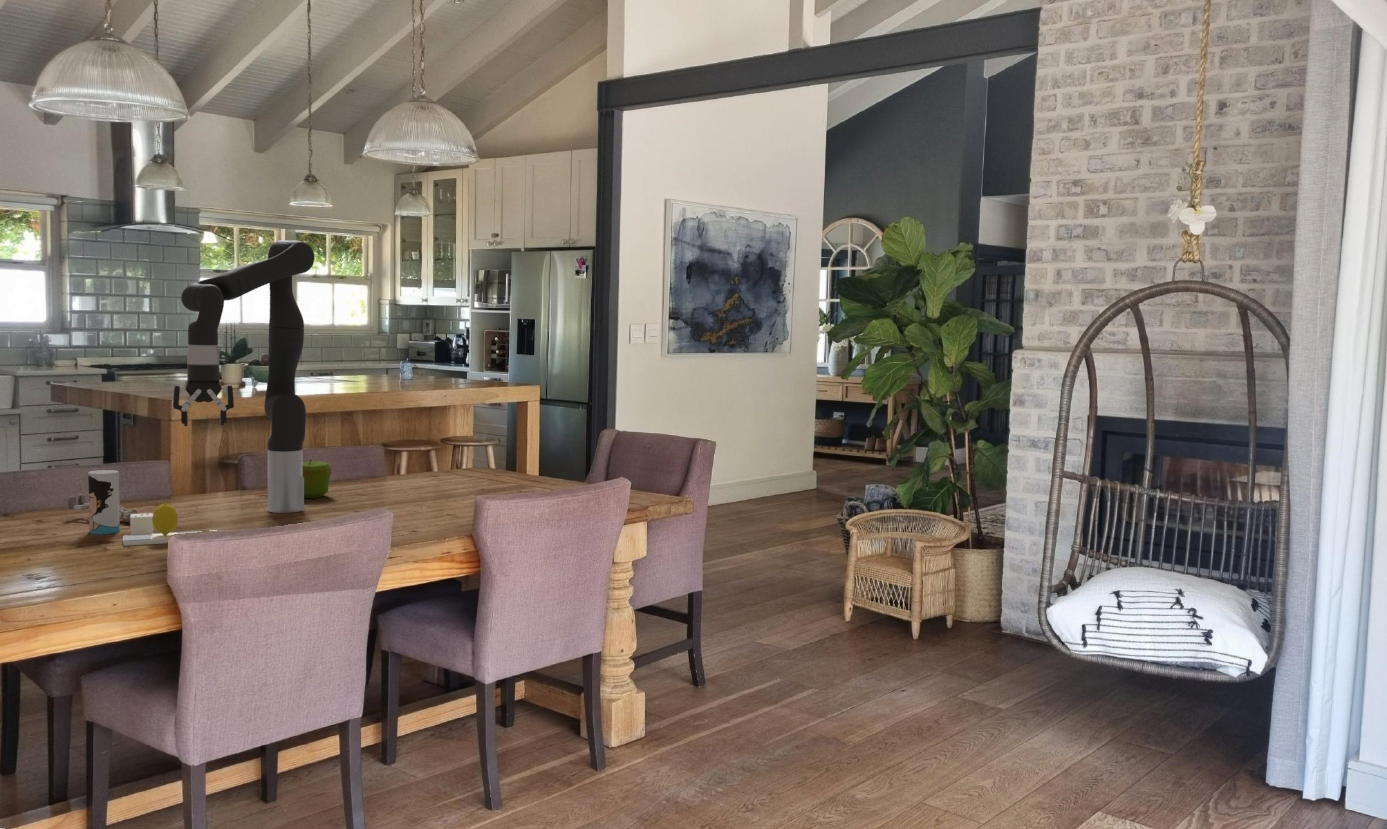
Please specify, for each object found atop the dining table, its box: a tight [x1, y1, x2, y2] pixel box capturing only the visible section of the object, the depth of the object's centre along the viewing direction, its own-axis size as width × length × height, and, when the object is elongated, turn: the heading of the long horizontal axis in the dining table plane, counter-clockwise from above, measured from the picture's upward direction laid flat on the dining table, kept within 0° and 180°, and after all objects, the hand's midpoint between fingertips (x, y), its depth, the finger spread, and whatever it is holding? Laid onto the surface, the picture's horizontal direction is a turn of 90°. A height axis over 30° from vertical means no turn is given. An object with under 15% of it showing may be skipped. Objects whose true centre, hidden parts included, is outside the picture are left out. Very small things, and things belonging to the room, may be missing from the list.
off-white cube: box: [129, 512, 154, 535], centre depth 280 cm, size 5×5×5 cm
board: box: [122, 529, 218, 547], centre depth 275 cm, size 24×7×1 cm, turn 117°
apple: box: [303, 459, 332, 499], centre depth 341 cm, size 12×12×11 cm
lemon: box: [152, 502, 179, 535], centre depth 274 cm, size 6×6×8 cm
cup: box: [87, 469, 121, 535], centre depth 282 cm, size 7×7×15 cm
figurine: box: [67, 493, 142, 524], centre depth 296 cm, size 6×6×20 cm
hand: (203, 425), depth 291 cm, fingers open, 8 cm apart
